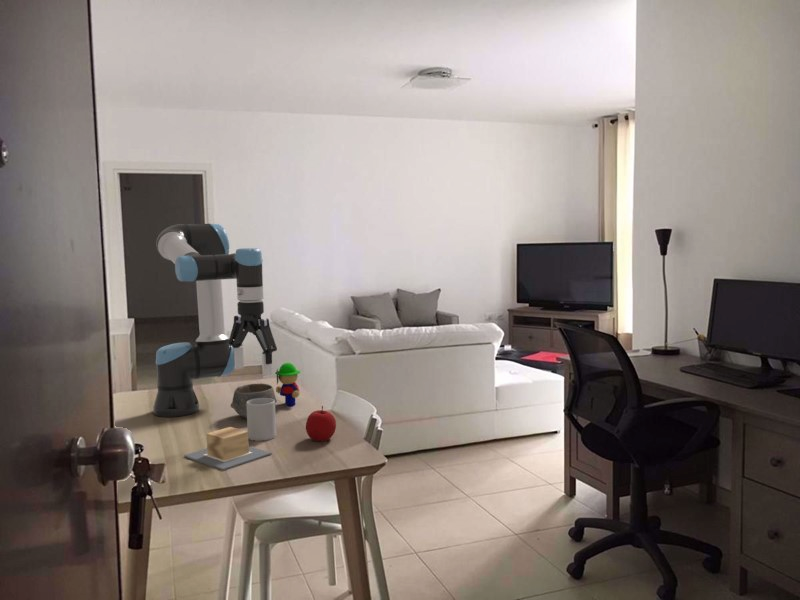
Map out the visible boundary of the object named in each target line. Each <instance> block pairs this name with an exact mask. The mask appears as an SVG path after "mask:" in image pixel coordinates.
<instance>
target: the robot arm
mask: <svg viewBox="0 0 800 600" xmlns="http://www.w3.org/2000/svg"><path fill="white" fill-rule="evenodd" d="M229 242H230V241H229V237H228V233H227V232H226V229H225V228H224V226H223V225H221V224H218V223H188V224H187V223H186V224H185V223H183V224H182V223H177V224H174V225H171V226H168V227H166V228H165V229H163V230H162V231H161V232H160V233H159V234H158V237H156V243H155V246H156V250H157V251H158V253H159V255H160V256H161V257H162V258H163V259H165V260H168V261H171V262H172V263H173V264H174V271H175V276H176V279H177V280H178V281H179V282H189V283H191V282H196V296H197V310H198V313H197V314H198V315H197V316H198V328H199V335H198V337H196V339H195V345H194V346H193V345H192V344H191V343H190V342H188V341H186V342H177V343H176V342H175V343H171V344H168V345H164V346H162V347H160V348H158V350H156V354H155V366H156V367H155V368H156V383H157V392H156V397H155V400H154V404H153V407H152V408H153V415H155V416H157V417H161V418H162V417H163V418H164V417H166V418H171V417H172V418H173V417H183V416H188V415H192V414H195V413H197V412H198V411H199V410H200V402H199V399H198V397H197V394H196V391H195V390H194V383H193V382H194V380H200V379H208V378H217V377H218V378H220V377H225V376H228V375H230V374H232V373H233V371H234V370H236V371H237V370H241V369H245V366H244V365H245V364H244V362H245V361H244V347H243V346H244V345H243V343H244V341H245V339H246V337H247V335H248V333H250V334H253V336H255V338H256V339H257V341H258V344H259V345H260V347H261V350H262V353H261V360H262V363H261V364H262V366H261V367H262V376H264V377H265V376H270V375H272V374H273V372H272V371H273V370H272V369H273V368H272V365H273V352H274V353H275V352H276V351H277V350H278V349H277V344H276V341H275V338H274V336H273V333H272V329H271V326H270V319H269V318H268V317H267V318H262V315H263V314H264V312H265V311H264V309H265V306H264V300H263V299H264V284H263V281H264V280H263V279H264V278H263V257H262V250H261V249H260V248H258V247H257V248H256V247H249V248H248V247H247V248H243V247H242V248H237V249H235V253H231V254H230V243H229ZM222 280H236V293H237V295H236V297H237V299H236V300H237V301H238V302H237V314H238V315H234V316H233V325H232V328H231V331H230V336H228V335H227V334H226V332H225V331H226V330H225V317H224V315H225V314H224V302H223V301H224V300H223V299H224V298H223V286H222V284H223V283H222Z"/></svg>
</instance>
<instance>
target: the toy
mask: <svg viewBox="0 0 800 600" xmlns="http://www.w3.org/2000/svg"><path fill="white" fill-rule="evenodd" d="M276 369H277V370H276V372H275V375H276V385H277V386H276V388H275V392H276V393H277V394H279V395H280V396H281V397H284V402H285V403H284V404H285V405H286V407H294V406H296V398H299V396H300V389H299V386H298V383H297V382H296V381H297V380H298V375H299V374H300V373H301V370H299V369H296V367H295V365H294V364H293V363H291V362H285V363H283V364H281V366H280V368H276ZM279 382H280V383H281V384H282V385H278V383H279Z"/></svg>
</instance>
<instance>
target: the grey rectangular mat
mask: <svg viewBox="0 0 800 600" xmlns="http://www.w3.org/2000/svg"><path fill="white" fill-rule="evenodd" d="M271 455H273V453H272V452H270V451H267V450H264V449H260V448H256V447H254V446H251V445H250V446H249V453H246V454H243V455H240V456H237V457H234V458H231V459H228V460H222V459H219V458H216V457H213V456H210V455H207V448H204V449H201V450H197V451H194V452H190V453H187V454H184V458H186V459H189V460H191V461H195V462H197V463H200V464H203V465H206V466H209V467H212V468H215V469H217V470H220V471H227V470H229V469H232V468H235V467H238V466H242V465H245V464H247V463H251V462H254V461H256V460H259V459H262V458H265V457H269V456H271Z"/></svg>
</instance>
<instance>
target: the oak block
mask: <svg viewBox="0 0 800 600" xmlns="http://www.w3.org/2000/svg"><path fill="white" fill-rule="evenodd" d="M206 449H207V455H210V456H213V457H216V458H219V459H222V460H228V459H231V458H234V457H237V456H240V455H243V454H246V453H249V439H248V432H247V430H243V429H240V428H236V427H233V426H227V427H224V428H222V429H217V430H214V431H210V432H207V433H206Z"/></svg>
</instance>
